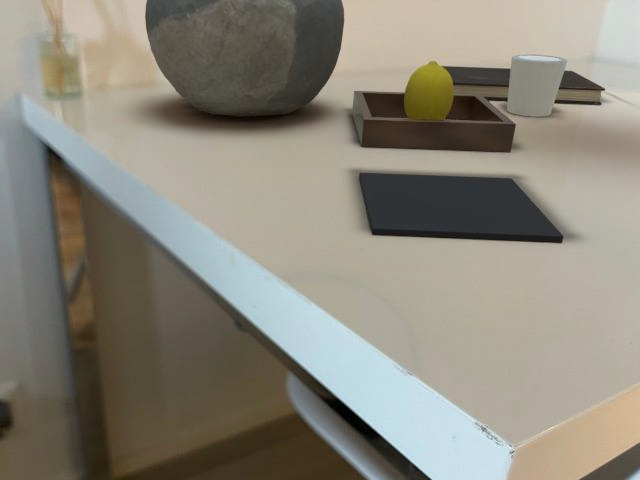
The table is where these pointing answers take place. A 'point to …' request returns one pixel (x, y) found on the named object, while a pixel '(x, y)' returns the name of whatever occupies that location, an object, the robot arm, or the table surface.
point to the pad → (453, 208)
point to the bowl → (246, 51)
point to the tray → (431, 124)
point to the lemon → (429, 93)
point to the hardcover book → (497, 80)
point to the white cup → (534, 84)
